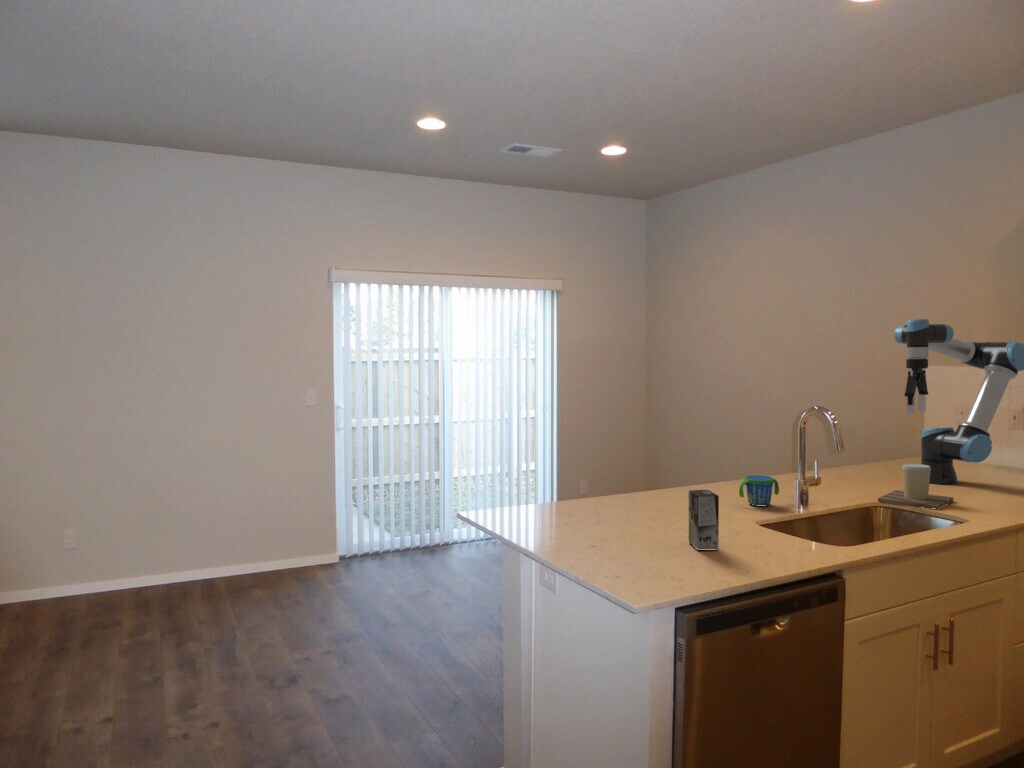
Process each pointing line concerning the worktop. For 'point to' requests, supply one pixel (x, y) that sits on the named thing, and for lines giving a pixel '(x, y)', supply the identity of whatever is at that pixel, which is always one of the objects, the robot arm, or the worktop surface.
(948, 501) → the walnut board
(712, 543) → the coffee box
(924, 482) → the coffee cup
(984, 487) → the worktop surface
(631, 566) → the worktop surface
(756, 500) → the snack cup
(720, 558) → the worktop surface
